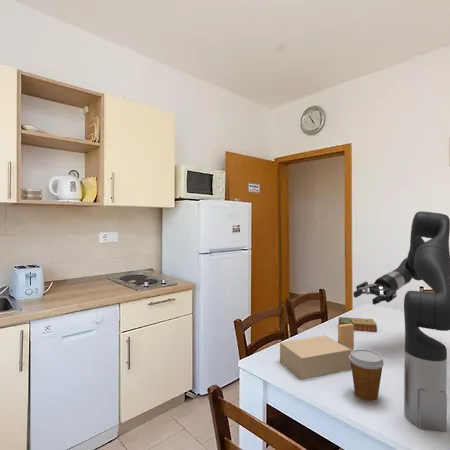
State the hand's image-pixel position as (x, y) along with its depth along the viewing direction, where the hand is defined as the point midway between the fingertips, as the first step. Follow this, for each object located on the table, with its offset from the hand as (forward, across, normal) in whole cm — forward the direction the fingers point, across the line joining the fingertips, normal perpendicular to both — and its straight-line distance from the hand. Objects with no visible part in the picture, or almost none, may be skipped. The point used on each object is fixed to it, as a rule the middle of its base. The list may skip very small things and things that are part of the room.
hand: (363, 298), depth 119 cm
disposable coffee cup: (+28, +21, +13) cm, 38 cm away
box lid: (+29, 0, +14) cm, 32 cm away
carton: (-15, -20, +30) cm, 39 cm away
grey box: (+25, 0, +15) cm, 29 cm away
